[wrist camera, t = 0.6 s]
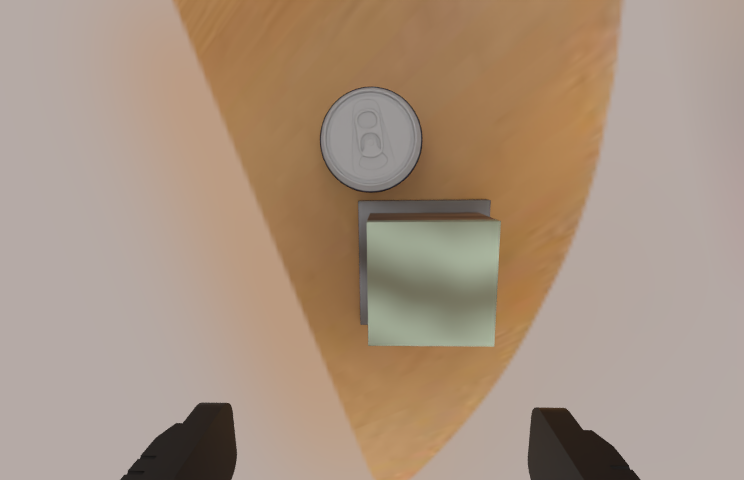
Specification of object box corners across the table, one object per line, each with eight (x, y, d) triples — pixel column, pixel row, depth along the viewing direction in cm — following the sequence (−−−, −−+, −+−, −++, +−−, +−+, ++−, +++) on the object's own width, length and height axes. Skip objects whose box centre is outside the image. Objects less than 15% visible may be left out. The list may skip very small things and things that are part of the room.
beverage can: (348, 191, 31) (325, 200, 19) (337, 123, 30) (306, 89, 18) (413, 181, 31) (430, 185, 19) (405, 113, 30) (417, 71, 18)
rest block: (359, 200, 31) (351, 207, 24) (487, 199, 31) (516, 206, 24) (361, 320, 33) (354, 358, 26) (481, 320, 33) (507, 359, 26)
